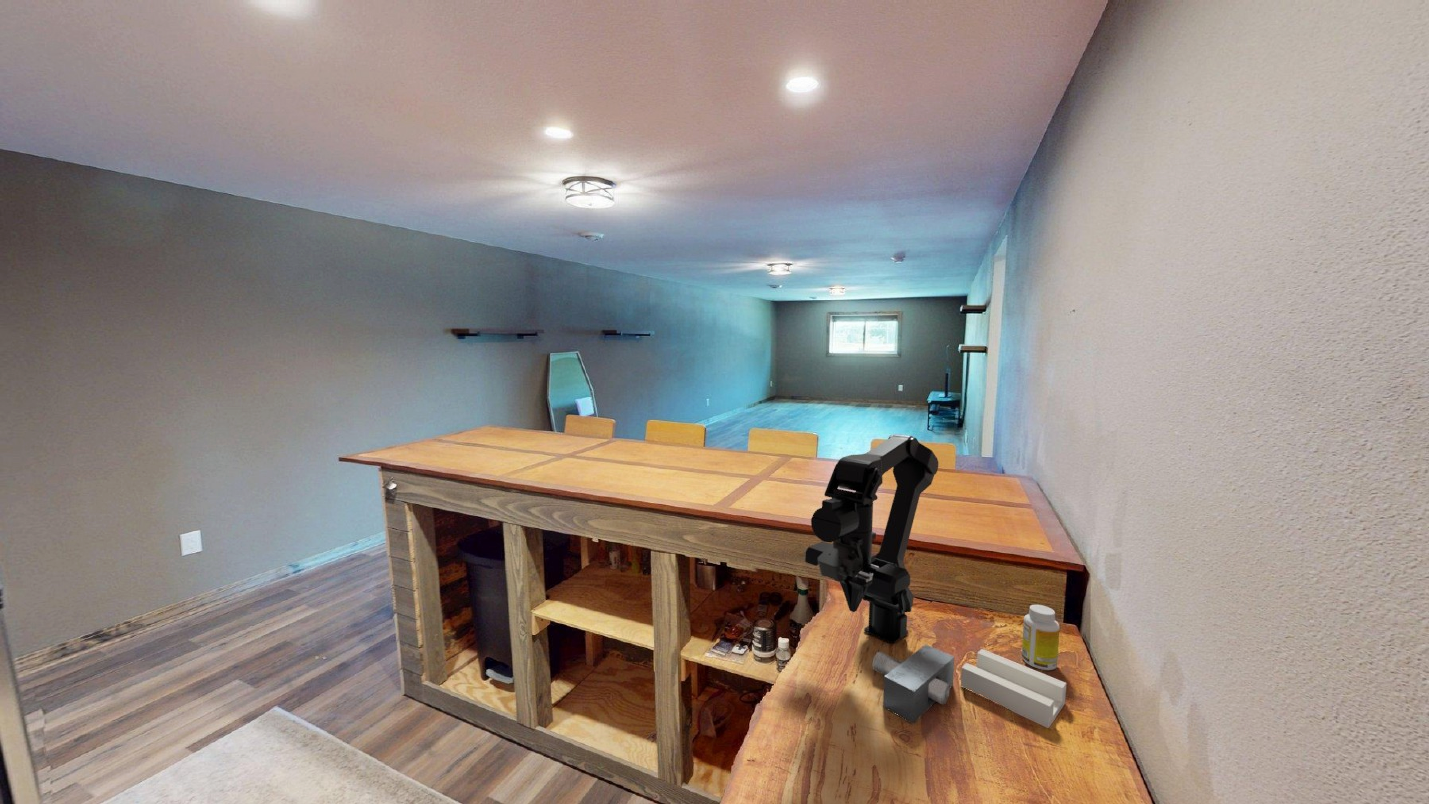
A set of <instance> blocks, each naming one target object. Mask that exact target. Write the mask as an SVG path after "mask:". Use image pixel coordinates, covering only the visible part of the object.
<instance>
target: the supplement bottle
mask: <svg viewBox="0 0 1429 804" xmlns="http://www.w3.org/2000/svg"><path fill="white" fill-rule="evenodd" d="M1022 625H1023V626H1022V644H1021V646H1022V648H1021V656H1022V659H1023V661H1024V662H1025V663H1026V664H1027V665H1029V666H1031V667H1033V668H1034V669H1038V670H1042V671H1052V670H1055V669H1056V668H1058V660H1059V659H1058V658H1059V645H1060V644H1059V642H1060V624H1059V622H1058V621H1057V620H1056V612H1055V610H1054V609H1053V608H1051V607H1048V606H1046V605H1042V604H1031V605H1030V606H1029V610H1028V614H1025V616H1024V617H1023V624H1022Z"/></svg>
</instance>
